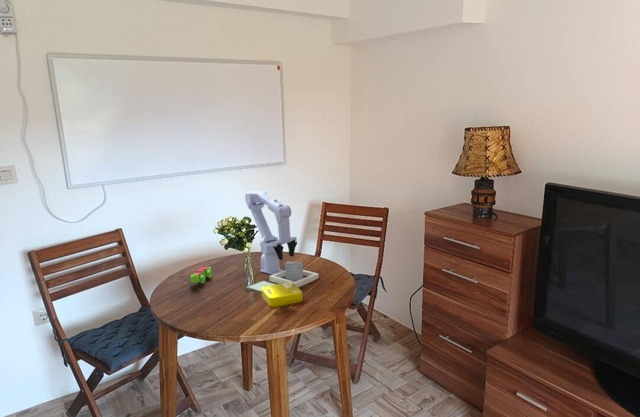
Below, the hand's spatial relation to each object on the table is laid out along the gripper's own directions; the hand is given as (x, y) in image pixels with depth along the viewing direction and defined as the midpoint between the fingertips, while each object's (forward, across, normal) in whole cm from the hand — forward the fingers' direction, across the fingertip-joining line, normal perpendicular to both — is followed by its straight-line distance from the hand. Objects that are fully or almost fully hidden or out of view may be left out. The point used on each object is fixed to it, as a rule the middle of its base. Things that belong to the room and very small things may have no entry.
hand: (286, 257), depth 212 cm
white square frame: (+11, +1, -4) cm, 11 cm away
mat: (+11, -15, +1) cm, 19 cm away
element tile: (+12, -19, -16) cm, 28 cm away
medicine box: (+11, +1, -4) cm, 12 cm away
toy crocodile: (+9, -28, +32) cm, 44 cm away
